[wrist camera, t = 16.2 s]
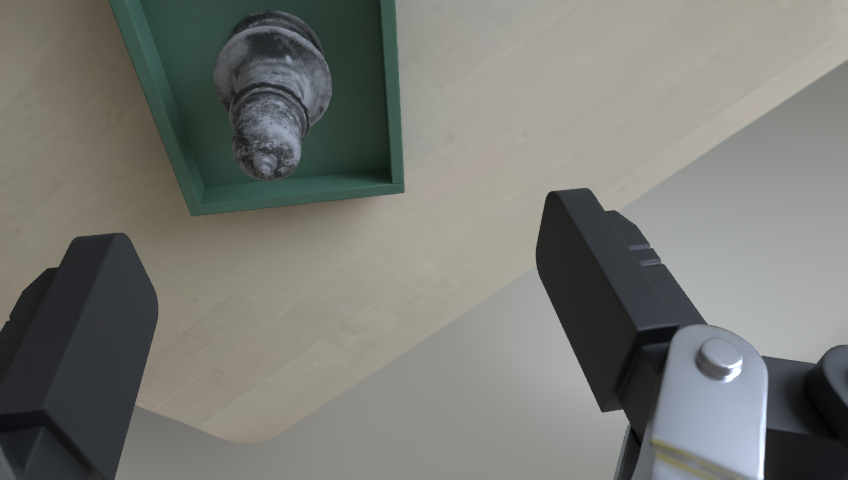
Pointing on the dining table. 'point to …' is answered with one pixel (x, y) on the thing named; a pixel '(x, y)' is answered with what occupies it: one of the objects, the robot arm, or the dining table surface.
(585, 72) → the dining table surface
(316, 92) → the salt shaker
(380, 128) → the tray
